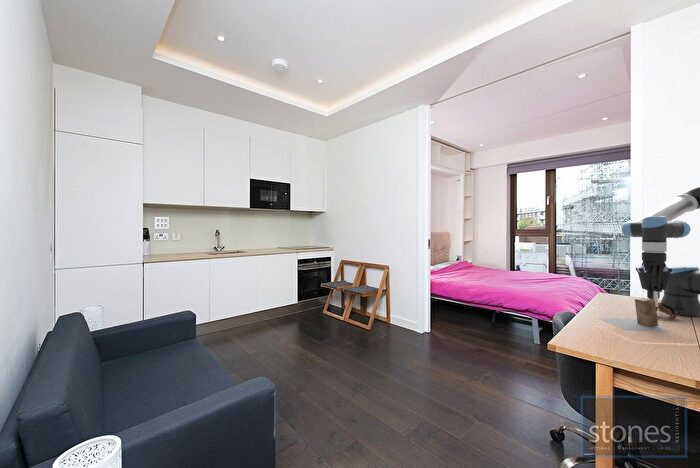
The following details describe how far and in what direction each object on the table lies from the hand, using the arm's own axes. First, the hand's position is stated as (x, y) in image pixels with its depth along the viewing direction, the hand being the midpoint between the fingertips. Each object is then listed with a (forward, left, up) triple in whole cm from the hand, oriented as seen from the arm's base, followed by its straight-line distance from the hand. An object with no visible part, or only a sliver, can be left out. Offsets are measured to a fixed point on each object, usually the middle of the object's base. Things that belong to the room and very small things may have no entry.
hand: (653, 305), depth 129 cm
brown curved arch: (-13, -14, -10) cm, 21 cm away
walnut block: (+2, 0, -8) cm, 9 cm away
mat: (+7, -1, -9) cm, 12 cm away
